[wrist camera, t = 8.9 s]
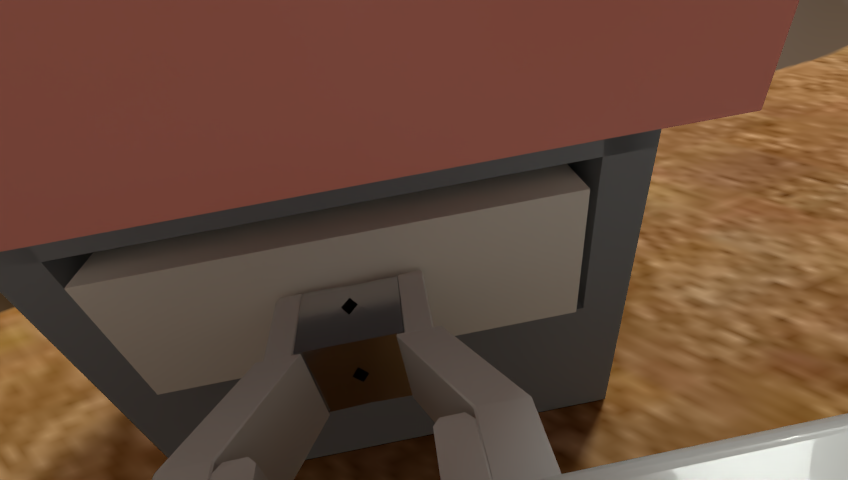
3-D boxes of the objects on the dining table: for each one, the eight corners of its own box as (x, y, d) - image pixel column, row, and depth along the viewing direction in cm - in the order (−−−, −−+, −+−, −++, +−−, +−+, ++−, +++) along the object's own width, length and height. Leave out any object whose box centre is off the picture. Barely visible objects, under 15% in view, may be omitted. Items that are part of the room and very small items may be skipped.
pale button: (576, 312, 10) (590, 188, 8) (157, 394, 10) (63, 288, 8) (522, 220, 13) (522, 116, 11) (205, 281, 13) (148, 185, 11)
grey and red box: (604, 398, 13) (840, -728, 4) (193, 482, 13) (-817, -514, 3) (530, 261, 19) (541, -322, 9) (241, 316, 19) (-69, -229, 9)
